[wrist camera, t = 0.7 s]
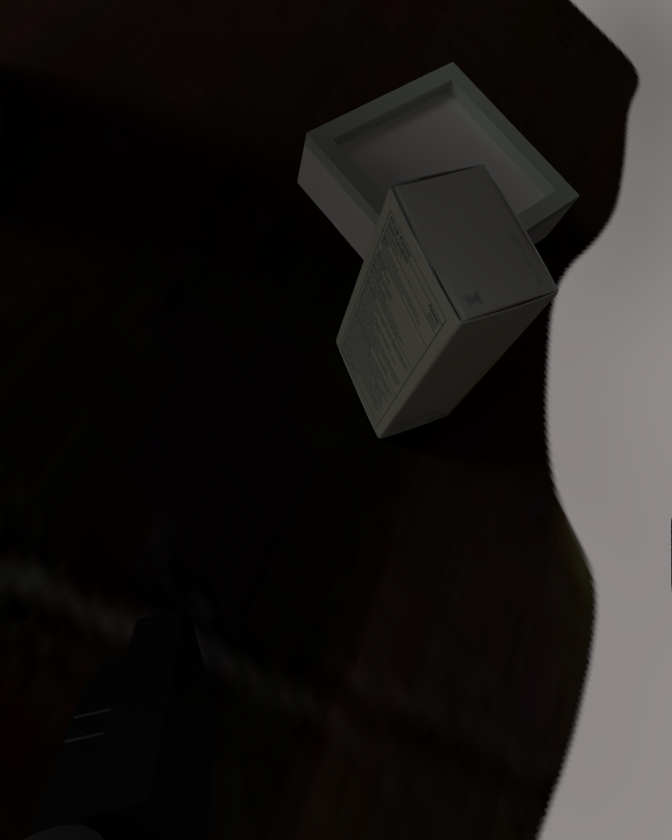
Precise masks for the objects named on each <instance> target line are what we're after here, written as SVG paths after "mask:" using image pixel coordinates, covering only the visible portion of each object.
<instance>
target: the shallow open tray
mask: <svg viewBox="0 0 672 840" xmlns="http://www.w3.org/2000/svg"><path fill="white" fill-rule="evenodd" d="M480 164H485V165H487V166H488V168H489V169H490V171H491V173H492V174H493V176H494V178H495V179H496V181H497V183H498V184H499V186H500V188H501V189H502V191H503V193H504V195H505V196H506V198H507V199H508V201H509V203H510V205H511V206H512V208H513V210H514V211H515V213H516V215H517V216H518V218H519V220H520V222H521V224H522V225H523V227H524V228H525V230H526V232H527V234H528V235H529V237H530V239H531V241H532V242H533V244H534V245H535V244H536V243H538V242H539V241H541V240H542V239H544V238H545V237H546V236H547V235H548V234H549V233H550V232H551V230H552V229H553V228H554V227H555V225H556V224H557V223H558V222H559V220H560V219H561V218H562V217H563V215H564V214H565V213H566V212H567V210H568V209H569V208H570V207H571V206H572V204H573V203H574V202H575V201H576V199H577V198H578V197H579V196H580V195H579V194H578V193H577V192H576V191H575V190H574V189H573V188H572V187H571V186H570V185H569V184H568V183H567V182H566V181H565V180H564V179H563V178H562V176H561V175H560V174H559V173H558V172H557V171H556V170H555V169H554V168H553V167H552V166H551V165H550V164H549V163H548V162H547V161H546V160H545V159H544V158H543V156H542V155H541V154H540V153H539V152H538V151H537V150H536V149H535V148H534V147H533V146H532V145H531V144H530V143H529V142H528V141H527V140H526V139H525V138H524V136H523V135H522V134H521V133H520V132H519V131H518V130H517V129H516V128H515V127H514V126H513V125H512V124H511V123H510V122H509V121H508V120H507V119H506V118H505V116H504V115H503V114H502V113H501V112H500V111H499V110H498V109H497V108H496V107H495V106H494V105H493V104H492V103H491V102H490V101H489V100H488V99H487V98H486V96H485V95H484V94H483V93H482V92H481V91H480V90H479V89H478V88H477V87H476V86H475V85H474V84H473V83H472V82H471V81H470V80H469V79H468V78H467V76H466V75H465V74H464V73H463V72H462V71H461V70H460V69H459V68H458V67H457V66H456V65H455V64H454V63H453V62H452V63H450V64H447V65H445V66H443V67H441V68H439V69H437V70H435V71H433V72H431V73H429V74H427V75H425V76H423V77H421V78H419V79H417V80H415V81H413V82H410V83H408V84H406V85H404V86H402V87H400V88H398V89H396V90H394V91H392V92H390V93H388V94H386V95H384V96H382V97H380V98H378V99H375V100H373V101H371V102H369V103H367V104H365V105H363V106H361V107H359V108H357V109H355V110H353V111H351V112H349V113H347V114H345V115H343V116H341V117H338V118H336V119H334V120H332V121H330V122H328V123H326V124H324V125H322V126H320V127H318V128H316V129H314V130H312V131H310V132H308V133H307V134H306V139H305V145H304V150H303V155H302V160H301V165H300V171H299V176H298V181H297V182H298V184H299V185H300V186H301V187H302V188H303V190H304V191H305V192H306V193H307V194H308V195H309V197H310V198H311V199H312V200H313V201H314V202H315V204H316V205H317V206H318V207H319V208H320V209H321V211H322V212H323V213H324V214H325V215H326V216H327V218H328V219H329V220H330V221H331V222H332V223H333V225H334V226H335V227H336V228H337V229H338V230H339V232H340V233H341V234H342V235H343V236H344V237H345V239H346V240H347V241H348V242H349V243H350V244H351V246H352V247H353V248H354V249H355V250H356V252H357V253H358V254H359V255H360V256H361V257H362V259H363V260H364V259H365V256H366V253H367V251H368V248H369V245H370V242H371V239H372V236H373V234H374V231H375V228H376V225H377V222H378V220H379V217H380V214H381V211H382V208H383V205H384V202H385V199H386V196H387V193H388V191H389V188H390V185H391V184H392V183H394V182H398V181H402V180H407V179H412V178H416V177H420V176H425V175H430V174H435V173H439V172H445V171H449V170H455V169H460V168H465V167H470V166H475V165H480Z"/></svg>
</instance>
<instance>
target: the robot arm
mask: <svg viewBox="0 0 672 840" xmlns="http://www.w3.org/2000/svg"><path fill="white" fill-rule="evenodd" d="M5 121H6V116H5V109H4V104H3V101H2V99H1V96H0V140H1V138H2V136H3V133H4V128H5ZM671 558H672V520H671ZM671 560H672V559H671ZM671 567H672V561H671ZM671 569H672V568H671ZM671 574H672V572H671ZM671 576H672V575H671ZM671 580H672V577H671ZM671 583H672V581H671ZM671 585H672V584H671ZM73 715H74V720H71V722H70V725H69V727H68V730H67V733H66V736H65V744H62V746H61V749H60V752H59V755H58V757H57V760H56V763H55V766H54V768H53V771H52V774H51V776H50V779H49V782H48V785H47V787H46V790H45V793H44V795H43V798H42V801H41V804H40V806H39V809H38V812H37V814H36V817H35V820H34V823H33V825H32V828H31V831H30V834H29V836H28V838H26V839H24V840H208V829H209V814H210V800H211V785H212V771H213V757H214V742H215V716H214V707H213V700H212V695H211V690H210V686H209V682H208V679H207V675H206V671H205V667H204V663H203V660H202V656H201V652H200V648H199V644H198V641H197V637H196V633H195V629H194V625H193V622H192V619H191V616H190V614H189V612H188V610H187V609H184V610H179V611H174V612H170V613H165V614H160V615H155V616H151V617H146V618H141V619H138V620H137V622H136V625H135V628H134V631H133V635H132V638H131V642H130V645H129V648H128V652H127V655H126V656H122V657H117V658H113V659H108V660H106V661H105V662H104V663H103V664H102V665H101V667H100V668H99V669H98V670H97V671H96V672H95V674H94V675H93V676H92V677H91V678H90V679H89V681H88V682H87V683H86V684H85V685H84V687H83V689H82V692H81V695H80V698H79V700H78V703H77V706H76V708H75V711H74V714H73Z"/></svg>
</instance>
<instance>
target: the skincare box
mask: <svg viewBox="0 0 672 840" xmlns="http://www.w3.org/2000/svg"><path fill="white" fill-rule="evenodd" d="M557 292H558V288H557V286H556V284H555V282H554V281H553V279H552V277H551V275H550V273H549V271H548V269H547V267H546V265H545V264H544V262H543V260H542V258H541V257H540V255H539V253H538V251H537V249H536V248H535V246H534V244H533V242H532V241H531V239H530V237H529V235H528V234H527V232H526V230H525V228H524V227H523V225H522V224H521V222H520V220H519V218H518V216H517V215H516V213H515V211H514V210H513V208H512V206H511V205H510V203H509V201H508V199H507V198H506V196H505V195H504V193H503V191H502V189H501V188H500V186H499V184H498V183H497V181H496V179H495V178H494V176H493V174H492V173H491V171H490V169H489V168H488V166H487V165H485V164H480V165H475V166H470V167H465V168H460V169H455V170H449V171H445V172H439V173H435V174H430V175H425V176H420V177H416V178H412V179H407V180H402V181H398V182H394V183H392V184H391V185H390V188H389V191H388V193H387V196H386V199H385V202H384V205H383V208H382V211H381V214H380V217H379V220H378V222H377V225H376V228H375V231H374V234H373V236H372V239H371V242H370V245H369V248H368V251H367V253H366V256H365V259H364V262H363V265H362V268H361V270H360V273H359V276H358V279H357V282H356V285H355V288H354V291H353V293H352V296H351V299H350V302H349V305H348V307H347V310H346V313H345V316H344V319H343V322H342V325H341V327H340V330H339V333H338V336H337V339H336V343H337V345H338V348H339V350H340V353H341V355H342V358H343V360H344V363H345V365H346V367H347V370H348V372H349V374H350V377H351V379H352V381H353V384H354V386H355V388H356V390H357V393H358V395H359V397H360V400H361V402H362V404H363V406H364V409H365V411H366V413H367V416H368V418H369V420H370V422H371V424H372V426H373V428H374V430H375V432H376V434H377V436H378V438H381V439H382V438H385V437H388V436H391V435H394V434H397V433H400V432H403V431H406V430H409V429H412V428H415V427H418V426H421V425H424V424H426V423H429V422H432V421H434V420H437V419H439V418H442V417H445V416H447V415H448V414H449V413H450V412H451V411H452V410H453V409H454V408H455V407H456V406H457V405H458V403H459V402H460V401H461V400H462V399H463V398H464V397H465V396H466V395H467V394H468V392H469V391H470V390H471V389H472V388H473V387H474V386H475V385H476V384H477V382H478V381H479V380H480V379H481V378H482V377H483V376H484V375H485V374H486V373H487V372H488V370H489V369H490V368H491V367H492V366H493V365H494V364H495V363H496V362H497V360H498V359H499V358H500V357H501V356H502V355H503V354H504V353H505V352H506V351H507V349H508V348H509V347H510V346H511V345H512V344H513V343H514V341H515V340H516V339H517V338H518V337H519V336H520V335H521V334H522V332H523V331H524V330H525V329H526V328H527V327H528V326H529V325H530V324H531V323H532V321H533V320H534V319H535V318H536V317H537V316H538V315H539V313H540V312H541V311H542V310H543V309H544V308H545V307H546V306H547V304H548V303H549V302H550V301H551V300H552V299H553V298H554V297H555V295H556V294H557Z"/></svg>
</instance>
